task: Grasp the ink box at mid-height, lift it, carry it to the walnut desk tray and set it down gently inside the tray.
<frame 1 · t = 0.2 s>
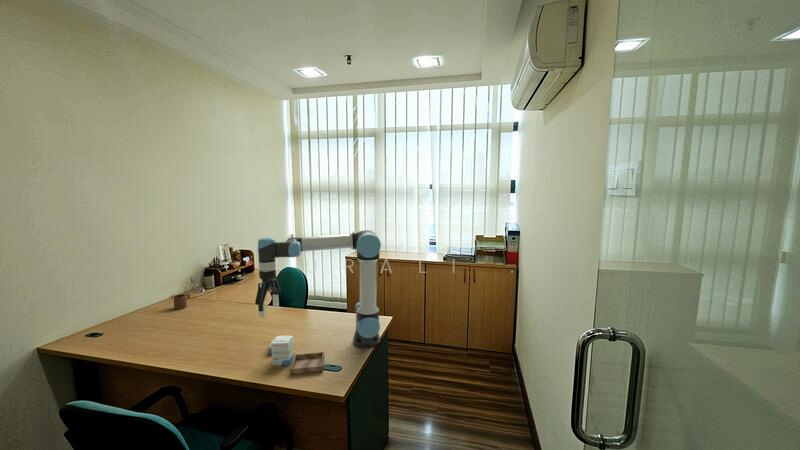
hand: (269, 311, 155), 26 cm above the table, fingers open, 13 cm apart
tray: (308, 365, 154), on the table
grey rectangular block: (274, 349, 170), on the table
mug: (183, 307, 234), on the table
ink box: (283, 361, 159), on the table
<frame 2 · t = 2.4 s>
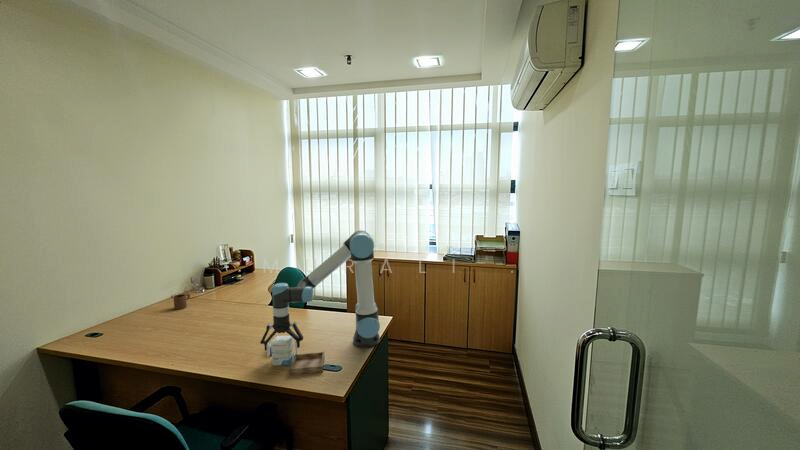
hand: (282, 354, 158), 3 cm above the table, fingers open, 13 cm apart
nothing on the table moved.
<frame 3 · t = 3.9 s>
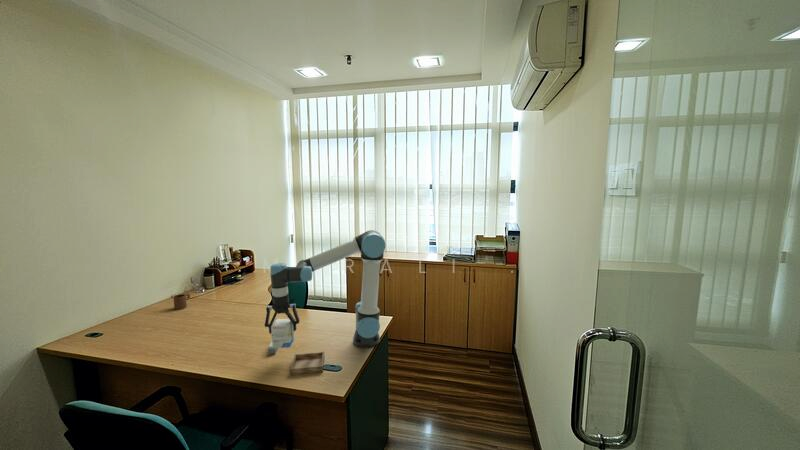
hand: (283, 337, 158), 12 cm above the table, fingers closed on ink box, 9 cm apart
ink box: (283, 344, 158), point 9 cm above the table, touching gripper
everything else where it was.
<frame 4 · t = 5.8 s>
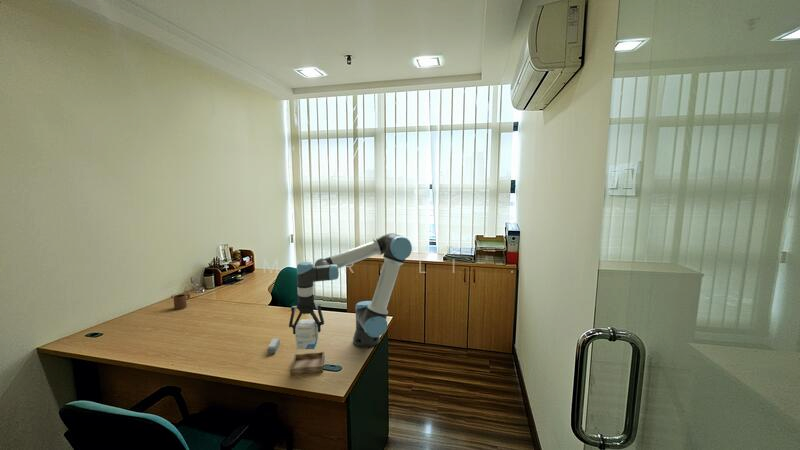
hand: (307, 339, 153), 14 cm above the table, fingers closed on ink box, 9 cm apart
ink box: (307, 345, 153), point 10 cm above the table, touching gripper
everything else where it was.
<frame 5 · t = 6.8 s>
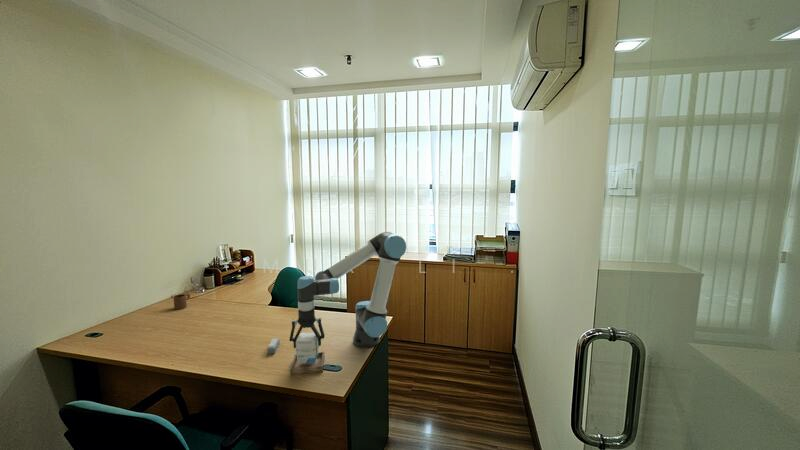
hand: (307, 352, 153), 7 cm above the table, fingers closed on ink box, 9 cm apart
ink box: (307, 359, 154), point 3 cm above the table, touching gripper
everything else where it was.
when the fingers open (4 cm above the table, at t = 7.8 s): ink box stays where it is, resting on tray.
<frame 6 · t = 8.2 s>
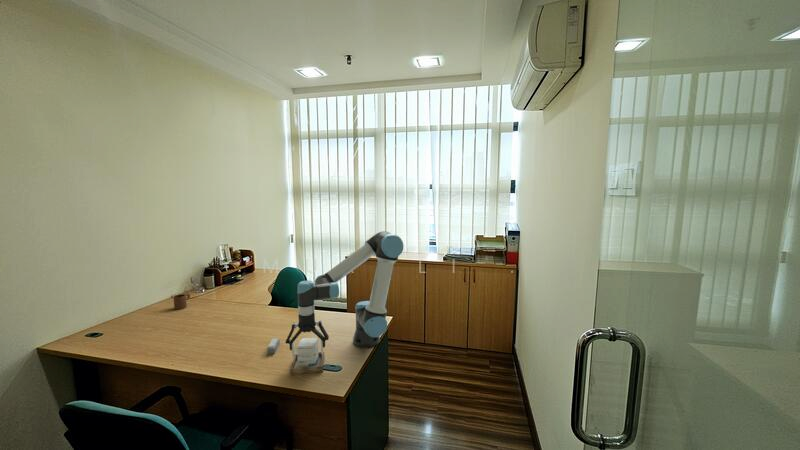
hand: (308, 354, 154), 6 cm above the table, fingers open, 13 cm apart
ink box: (308, 364, 154), point 1 cm above the table, touching tray
everything else where it was.
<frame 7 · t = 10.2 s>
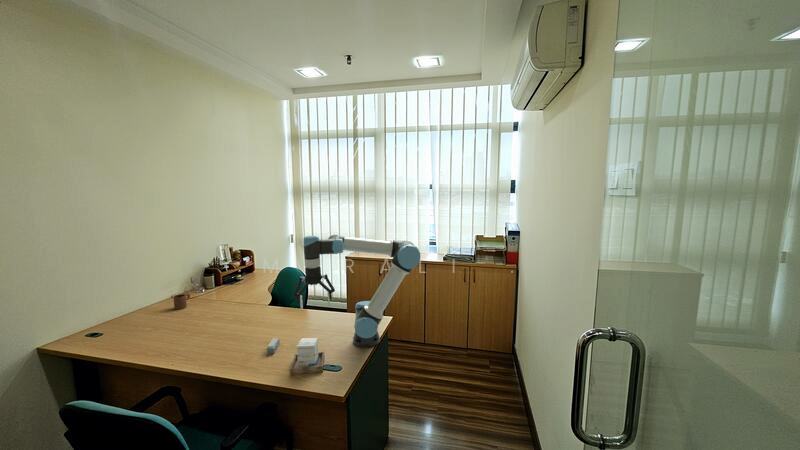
hand: (315, 307, 160), 27 cm above the table, fingers open, 13 cm apart
nothing on the table moved.
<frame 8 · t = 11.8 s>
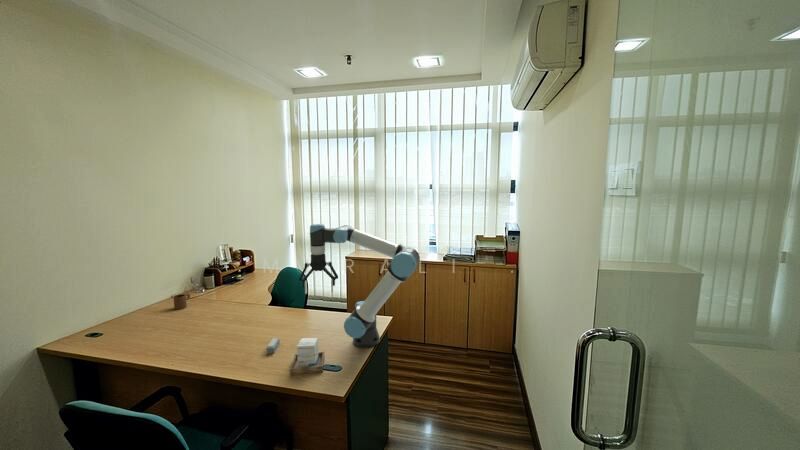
hand: (319, 292, 167), 32 cm above the table, fingers open, 13 cm apart
nothing on the table moved.
at the end: ink box inside the target area on the tray (0.1 cm from its centre), point 0.6 cm above the tray's base; ink box tilted 0°; the gripper is holding nothing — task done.
